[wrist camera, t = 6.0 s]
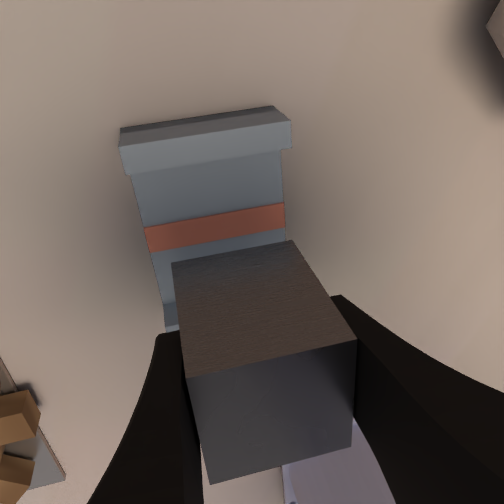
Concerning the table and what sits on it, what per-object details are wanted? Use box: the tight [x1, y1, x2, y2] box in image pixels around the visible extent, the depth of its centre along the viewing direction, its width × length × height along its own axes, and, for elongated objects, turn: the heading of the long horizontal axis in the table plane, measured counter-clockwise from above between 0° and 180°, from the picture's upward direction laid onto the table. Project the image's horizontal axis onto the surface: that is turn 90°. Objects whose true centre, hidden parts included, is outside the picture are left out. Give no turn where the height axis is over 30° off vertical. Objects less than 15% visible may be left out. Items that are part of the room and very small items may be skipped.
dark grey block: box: [171, 240, 358, 485], centre depth 13 cm, size 4×4×5 cm
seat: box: [118, 106, 292, 333], centre depth 18 cm, size 9×6×2 cm, turn 5°
